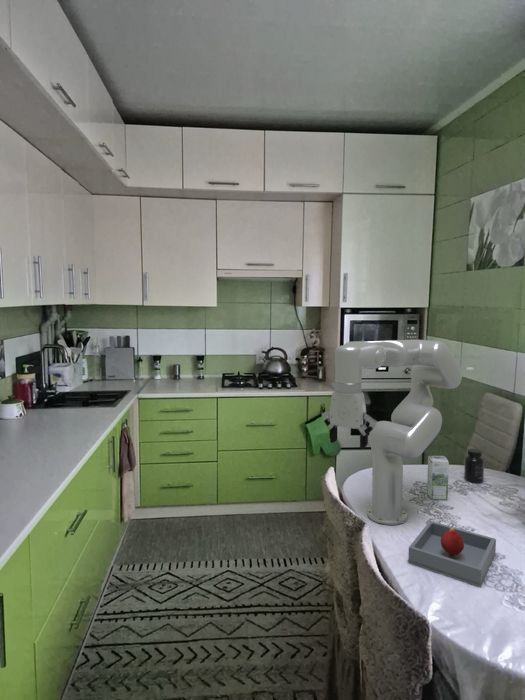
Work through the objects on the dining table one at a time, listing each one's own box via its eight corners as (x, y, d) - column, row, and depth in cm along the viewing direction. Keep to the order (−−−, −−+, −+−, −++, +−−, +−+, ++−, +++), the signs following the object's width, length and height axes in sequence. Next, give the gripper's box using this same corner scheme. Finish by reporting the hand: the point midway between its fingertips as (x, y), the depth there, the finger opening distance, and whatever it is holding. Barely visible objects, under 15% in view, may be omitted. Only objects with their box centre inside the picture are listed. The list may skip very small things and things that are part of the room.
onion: (456, 548, 128) (456, 521, 127) (468, 560, 122) (468, 532, 121) (437, 550, 127) (436, 523, 126) (447, 562, 122) (447, 534, 121)
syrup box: (443, 493, 166) (444, 455, 164) (448, 500, 160) (449, 460, 158) (426, 493, 167) (427, 454, 165) (431, 500, 161) (432, 460, 159)
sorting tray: (429, 534, 138) (429, 520, 137) (495, 554, 127) (495, 538, 126) (408, 563, 123) (408, 547, 123) (480, 587, 113) (481, 570, 112)
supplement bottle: (460, 478, 180) (461, 448, 178) (474, 475, 181) (475, 446, 180) (473, 484, 173) (473, 454, 172) (487, 482, 175) (488, 452, 174)
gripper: (316, 386, 136) (316, 442, 138) (370, 393, 125) (370, 453, 127) (328, 382, 142) (328, 436, 144) (381, 388, 131) (381, 446, 133)
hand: (348, 444), depth 135 cm, fingers open, 9 cm apart
